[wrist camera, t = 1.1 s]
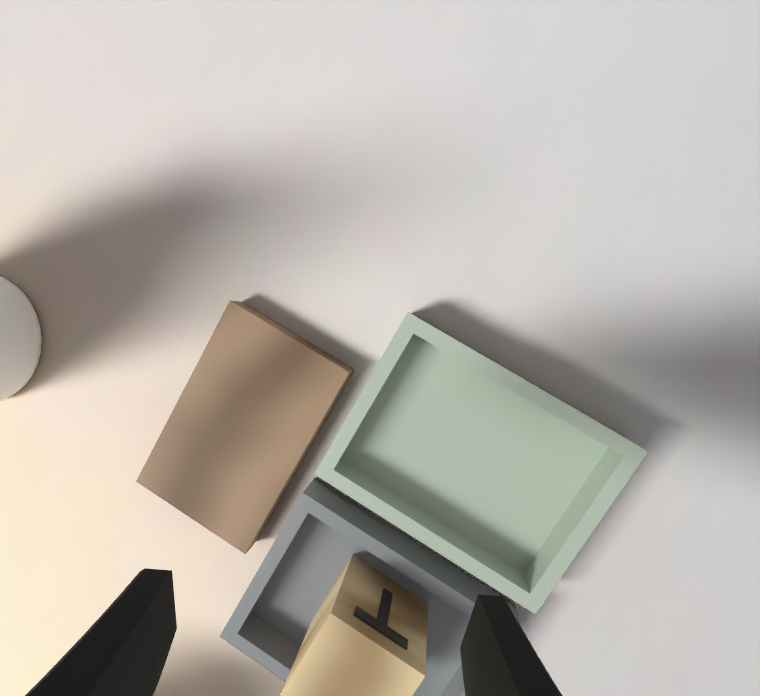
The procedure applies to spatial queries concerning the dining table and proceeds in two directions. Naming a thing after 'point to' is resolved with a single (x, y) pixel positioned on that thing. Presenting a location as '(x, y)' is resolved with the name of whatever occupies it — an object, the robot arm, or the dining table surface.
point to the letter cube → (363, 639)
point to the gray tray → (320, 572)
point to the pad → (243, 425)
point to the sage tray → (478, 462)
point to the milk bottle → (17, 339)
